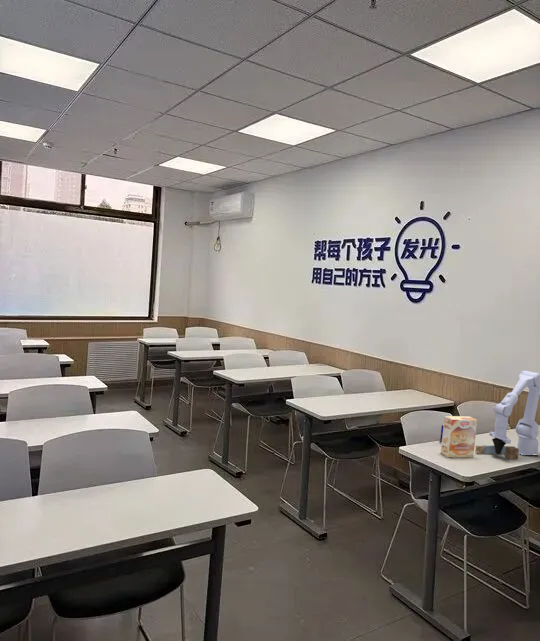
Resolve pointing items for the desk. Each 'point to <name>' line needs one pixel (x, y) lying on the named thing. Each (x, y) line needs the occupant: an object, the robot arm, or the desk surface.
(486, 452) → the slate-blue door
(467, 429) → the coffeecake box
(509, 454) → the walnut block
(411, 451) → the desk surface
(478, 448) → the oak door frame
